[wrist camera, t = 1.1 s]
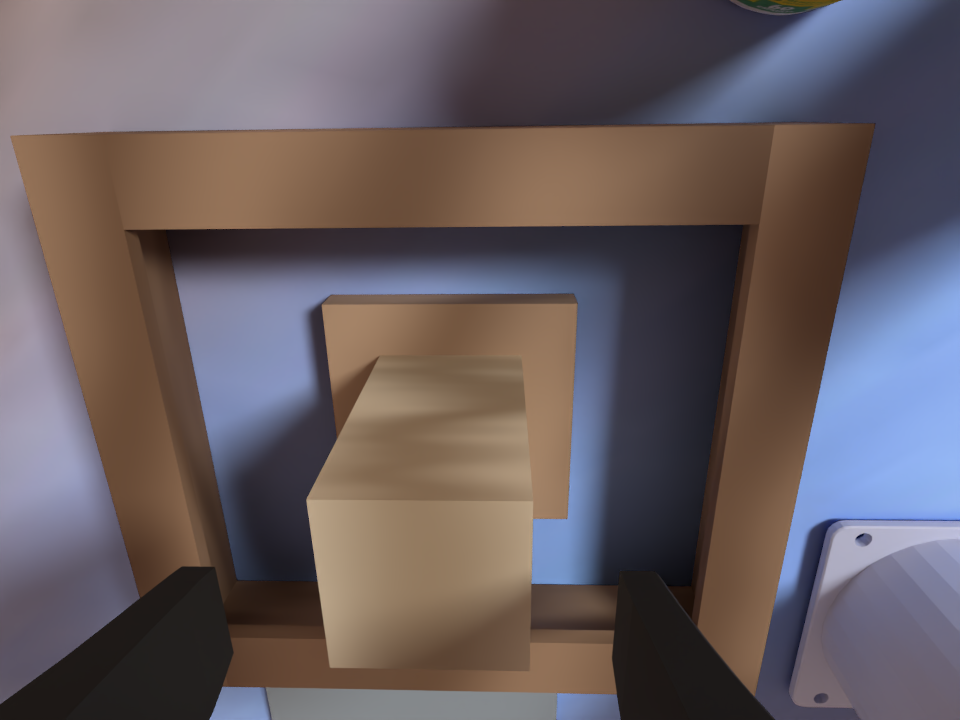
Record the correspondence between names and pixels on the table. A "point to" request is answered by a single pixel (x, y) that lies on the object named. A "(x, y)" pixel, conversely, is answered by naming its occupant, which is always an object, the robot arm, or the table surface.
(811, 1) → the supplement bottle
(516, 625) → the beech block
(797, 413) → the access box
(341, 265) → the table surface
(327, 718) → the place mat
